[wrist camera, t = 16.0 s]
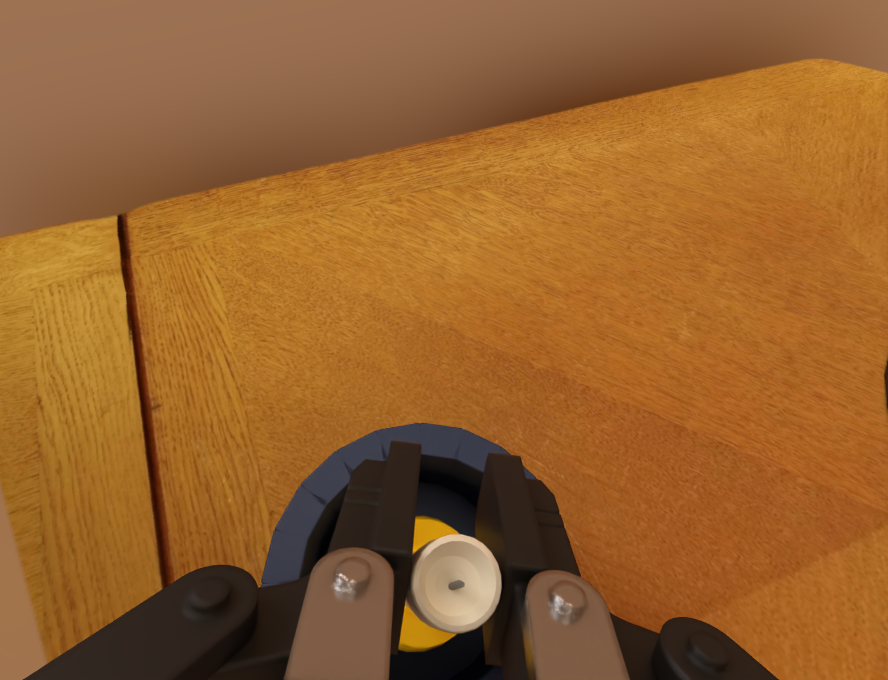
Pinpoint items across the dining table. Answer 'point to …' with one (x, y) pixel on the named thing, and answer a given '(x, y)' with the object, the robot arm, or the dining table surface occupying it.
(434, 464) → the navy blue cup
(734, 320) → the dining table surface
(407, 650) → the candle
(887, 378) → the plate
